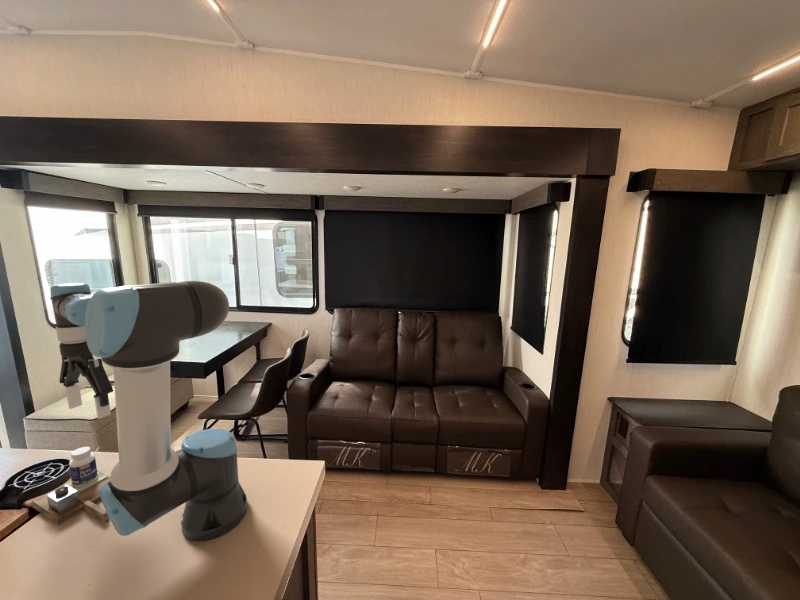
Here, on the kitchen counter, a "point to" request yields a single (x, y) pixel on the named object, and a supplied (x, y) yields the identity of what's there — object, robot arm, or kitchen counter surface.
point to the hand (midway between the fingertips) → (89, 411)
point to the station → (86, 501)
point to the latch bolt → (63, 499)
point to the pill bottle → (83, 467)
